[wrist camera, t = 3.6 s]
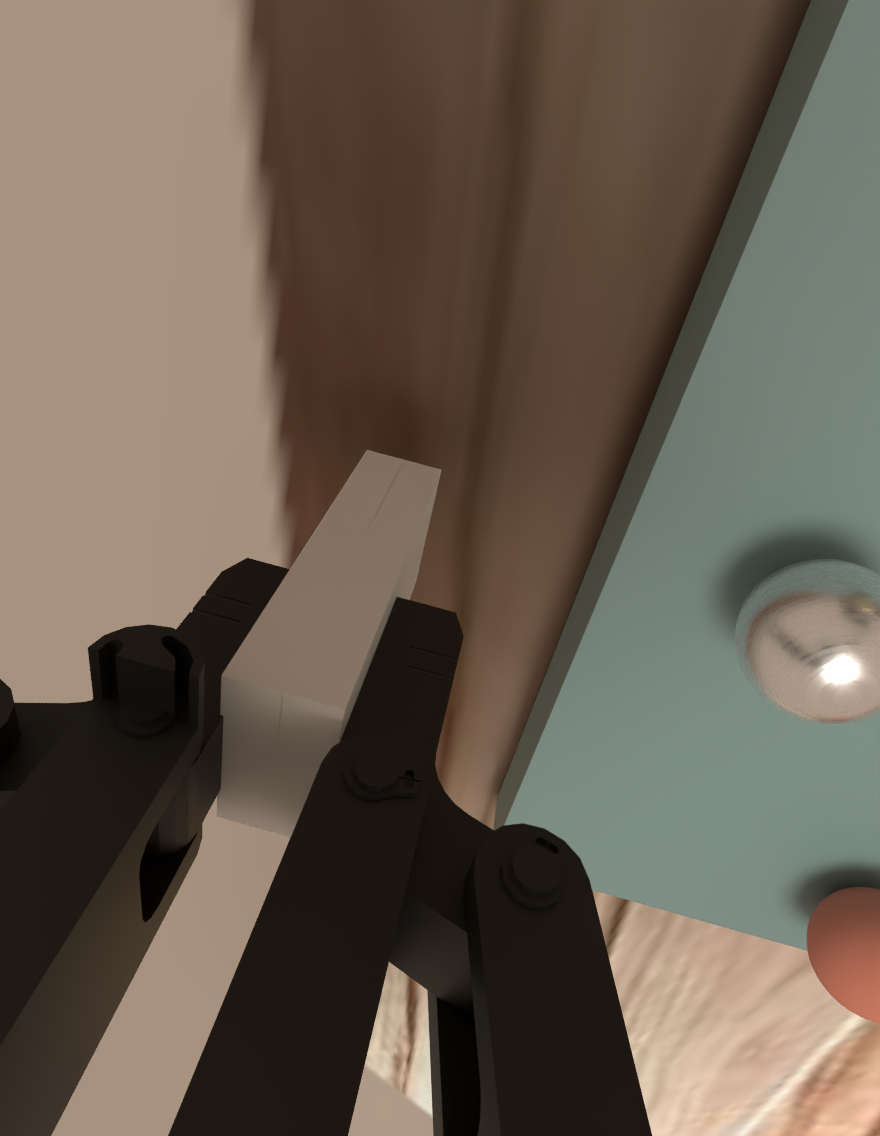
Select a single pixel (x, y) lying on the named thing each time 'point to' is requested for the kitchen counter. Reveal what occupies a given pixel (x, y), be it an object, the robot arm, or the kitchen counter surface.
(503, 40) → the kitchen counter surface
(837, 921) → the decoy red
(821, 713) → the steel ball
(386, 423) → the kitchen counter surface
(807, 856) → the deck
